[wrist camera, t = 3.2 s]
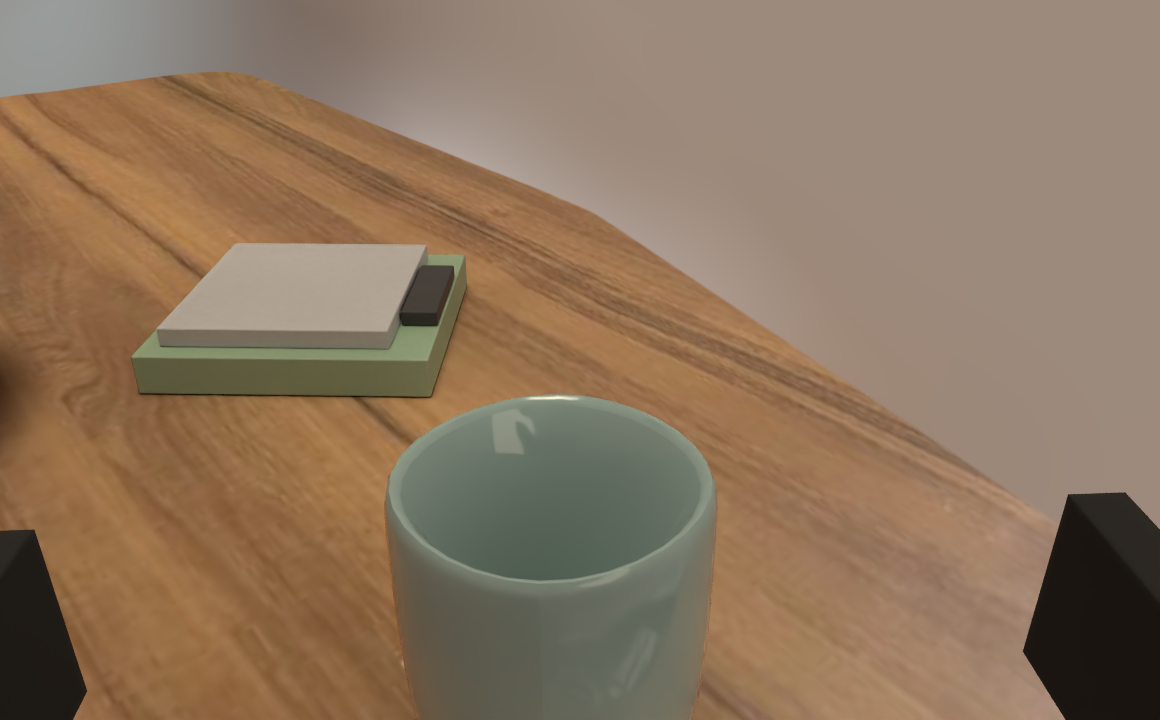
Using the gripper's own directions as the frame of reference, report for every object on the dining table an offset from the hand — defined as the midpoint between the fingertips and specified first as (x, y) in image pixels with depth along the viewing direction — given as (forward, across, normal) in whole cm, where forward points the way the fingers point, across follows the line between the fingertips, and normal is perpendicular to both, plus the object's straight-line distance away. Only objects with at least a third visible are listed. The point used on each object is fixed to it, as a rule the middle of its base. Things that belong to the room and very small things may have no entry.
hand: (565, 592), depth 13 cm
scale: (+37, -12, -14) cm, 42 cm away
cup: (+9, 0, -15) cm, 17 cm away
